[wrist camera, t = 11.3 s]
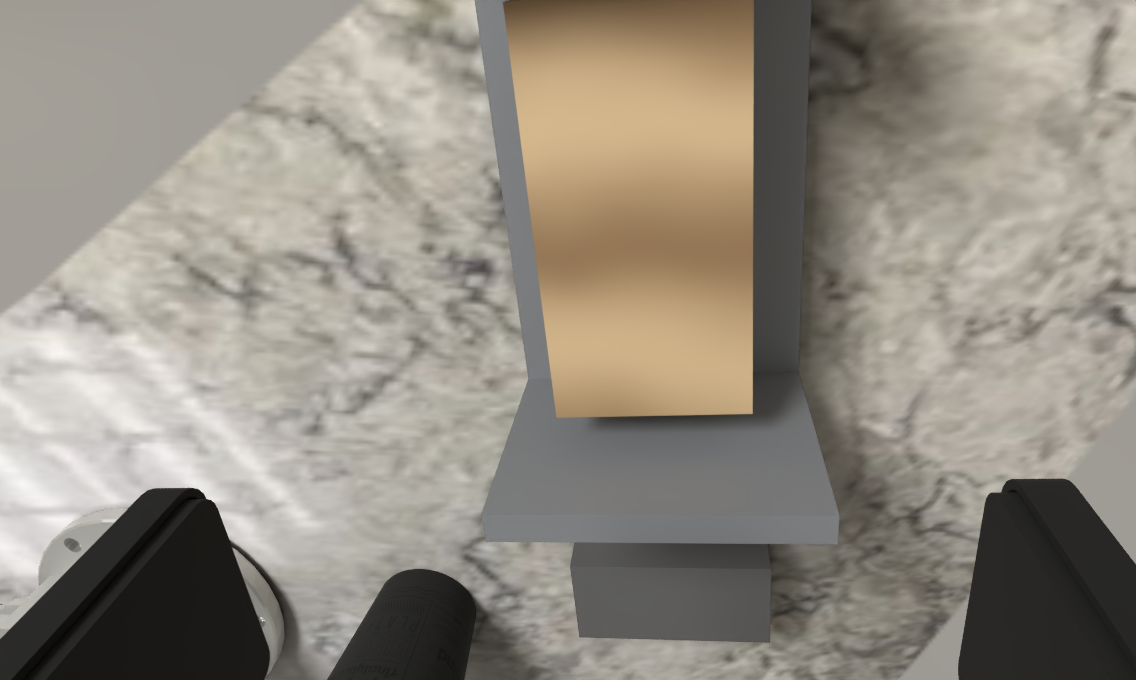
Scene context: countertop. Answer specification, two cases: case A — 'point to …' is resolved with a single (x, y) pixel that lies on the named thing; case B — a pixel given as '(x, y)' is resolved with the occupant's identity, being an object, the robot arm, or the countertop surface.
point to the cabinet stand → (678, 442)
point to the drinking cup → (412, 631)
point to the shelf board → (640, 199)
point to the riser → (672, 591)
